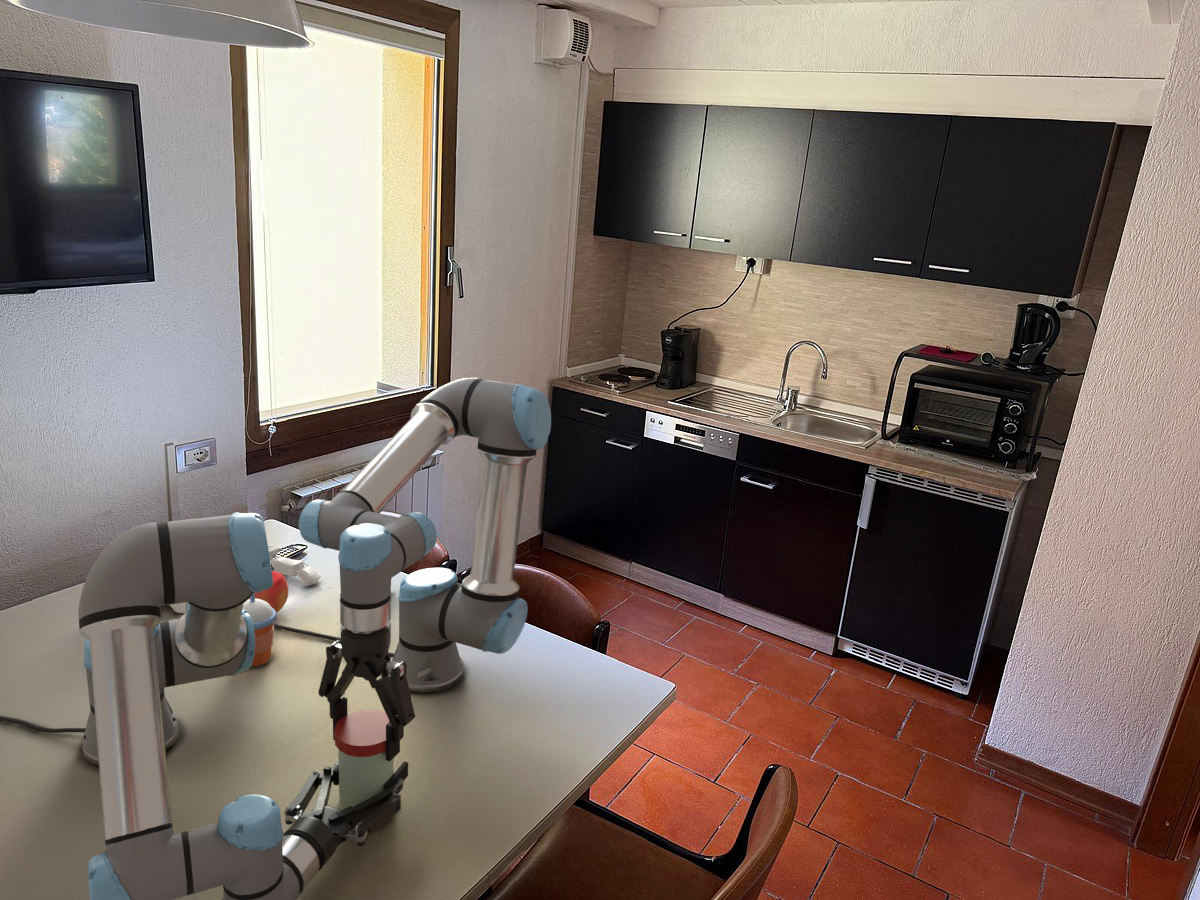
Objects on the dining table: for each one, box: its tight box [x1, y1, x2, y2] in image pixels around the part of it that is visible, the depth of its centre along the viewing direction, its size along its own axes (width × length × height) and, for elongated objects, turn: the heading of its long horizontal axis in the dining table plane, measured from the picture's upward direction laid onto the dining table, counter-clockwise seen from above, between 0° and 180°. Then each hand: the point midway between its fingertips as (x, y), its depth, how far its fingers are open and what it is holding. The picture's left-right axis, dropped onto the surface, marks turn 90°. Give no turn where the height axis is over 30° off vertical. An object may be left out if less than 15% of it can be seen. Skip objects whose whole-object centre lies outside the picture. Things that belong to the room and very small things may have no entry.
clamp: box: [268, 544, 322, 587], centre depth 219 cm, size 20×4×7 cm, turn 62°
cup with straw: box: [243, 592, 278, 667], centre depth 180 cm, size 9×9×18 cm
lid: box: [334, 708, 390, 757], centre depth 138 cm, size 10×10×2 cm
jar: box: [338, 749, 395, 824], centre depth 140 cm, size 9×9×16 cm
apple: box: [248, 571, 289, 614], centre depth 199 cm, size 10×10×10 cm
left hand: (381, 761), depth 145 cm, fingers closed on jar, 9 cm apart
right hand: (366, 745), depth 138 cm, fingers closed on lid, 10 cm apart
